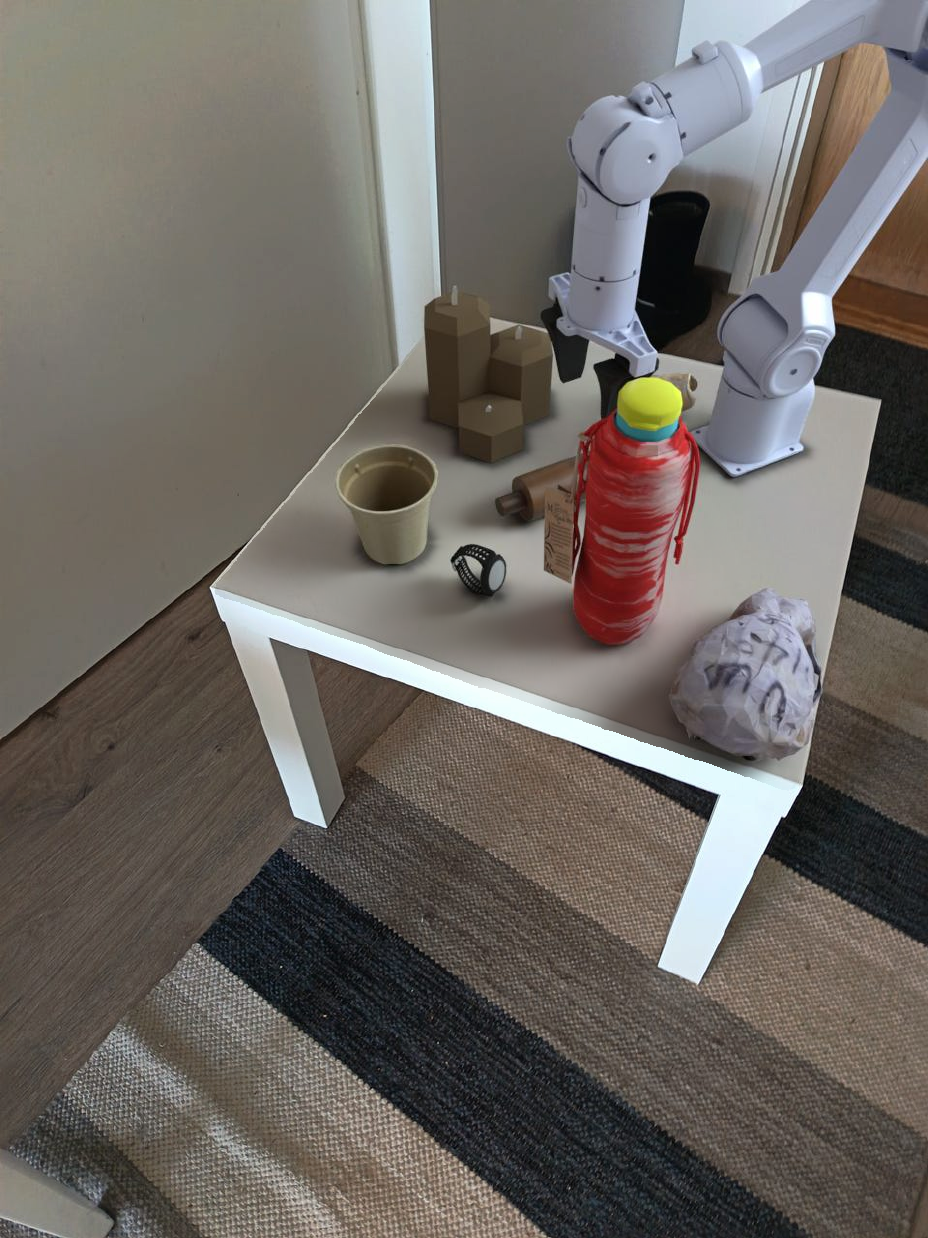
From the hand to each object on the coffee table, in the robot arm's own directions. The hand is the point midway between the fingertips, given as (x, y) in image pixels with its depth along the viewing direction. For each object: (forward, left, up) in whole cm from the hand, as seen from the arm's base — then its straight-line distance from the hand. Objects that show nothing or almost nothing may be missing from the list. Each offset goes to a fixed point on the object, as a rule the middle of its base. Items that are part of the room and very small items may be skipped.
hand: (591, 399), depth 82 cm
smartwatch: (+16, +8, -11) cm, 21 cm away
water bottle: (+8, +16, -11) cm, 21 cm away
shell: (-14, -7, -11) cm, 19 cm away
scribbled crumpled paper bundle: (+2, +30, -11) cm, 32 cm away
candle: (+4, -15, -11) cm, 19 cm away
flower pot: (+21, -1, -11) cm, 24 cm away
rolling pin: (+3, +2, -8) cm, 9 cm away
